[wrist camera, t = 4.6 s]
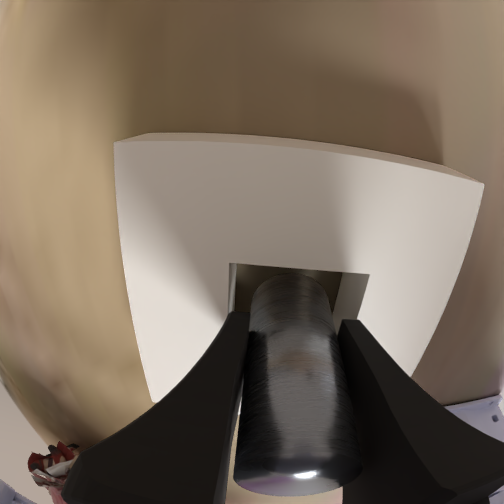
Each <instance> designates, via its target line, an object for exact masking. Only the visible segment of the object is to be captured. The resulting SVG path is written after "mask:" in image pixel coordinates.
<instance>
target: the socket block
mask: <svg viewBox="0 0 504 504" xmlns="http://www.w3.org/2000/svg"><path fill="white" fill-rule="evenodd" d="M114 170H115V188H116V202H117V214H118V224H119V234H120V243H121V251H122V258H123V266H124V273H125V279H126V286H127V292H128V297H129V303H130V309H131V314H132V319H133V324H134V329H135V334H136V339H137V343H138V348H139V352H140V356H141V361H142V365H143V369H144V373H145V377H146V381H147V384H148V388H149V392H150V395H151V399H152V402H155V403H157V402H159V401H160V400H161V399H162V398H163V397H164V396H165V395H167V394H168V393H169V392H170V391H171V390H172V389H173V388H174V387H175V386H176V385H177V384H178V383H179V382H180V381H181V380H182V379H183V378H184V377H185V376H186V374H187V373H188V372H189V371H190V370H191V369H192V367H193V366H194V365H195V364H196V363H197V361H198V360H199V359H200V358H201V357H202V355H203V354H204V353H205V351H206V350H207V348H208V347H209V346H210V344H211V343H212V341H213V340H214V338H215V337H216V335H217V334H218V332H219V331H220V329H221V327H222V326H223V324H224V322H225V320H226V318H227V315H228V314H229V313H230V312H231V311H234V310H235V288H236V268H237V263H239V264H250V265H262V266H274V267H286V268H298V269H310V270H323V271H335V272H343V274H342V278H341V283H340V287H339V291H338V295H337V299H336V303H335V307H334V311H333V314H332V317H333V321H334V325H335V330H336V334H337V335H338V331H339V328H340V325H341V321H342V319H355V320H360V321H361V322H362V323H363V325H364V326H365V327H366V328H367V329H368V330H369V332H370V333H371V334H372V335H373V336H374V338H375V339H376V340H377V341H378V342H379V343H380V345H381V346H382V347H383V348H384V349H385V350H386V352H387V353H388V354H389V355H390V356H391V357H392V358H393V360H394V361H395V362H396V363H397V364H398V365H399V366H400V367H401V368H402V369H403V370H404V371H405V372H406V373H407V374H408V375H409V376H410V377H411V376H412V374H413V372H414V370H415V368H416V367H417V365H418V363H419V361H420V359H421V357H422V355H423V353H424V352H425V350H426V348H427V346H428V344H429V342H430V340H431V338H432V335H433V333H434V331H435V329H436V327H437V325H438V323H439V321H440V318H441V316H442V314H443V312H444V309H445V307H446V305H447V302H448V300H449V297H450V295H451V292H452V290H453V287H454V285H455V282H456V280H457V277H458V274H459V272H460V269H461V266H462V263H463V260H464V257H465V254H466V251H467V248H468V245H469V242H470V239H471V236H472V232H473V229H474V225H475V222H476V218H477V215H478V211H479V207H480V203H481V199H482V195H483V190H484V186H485V184H483V183H481V182H479V181H477V180H475V179H473V178H471V177H469V176H466V175H464V174H462V173H460V172H458V171H455V170H453V169H451V168H449V167H446V166H444V165H440V164H436V163H432V162H428V161H423V160H419V159H415V158H410V157H405V156H401V155H396V154H391V153H386V152H380V151H375V150H369V149H364V148H358V147H351V146H345V145H338V144H331V143H324V142H316V141H308V140H299V139H290V138H280V137H268V136H256V135H240V134H220V133H147V134H143V135H139V136H135V137H131V138H127V139H123V140H120V141H116V142H114ZM241 399H242V398H241ZM240 408H241V402H240V407H239V412H238V415H240Z"/></svg>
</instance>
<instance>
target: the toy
mask: <svg viewBox="0 0 504 504" xmlns="http://www.w3.org/2000/svg"><path fill="white" fill-rule="evenodd" d="M78 447H79V446H78V445H76V444H71V445H69V446H66V445H64V444H63V443H62V442H60V441H59V442H58V445H57V448H56V447H55V446H54V445H49V447H48V449H49V451H50V452H51V453H50V454H48V455H46V456H43V455H41V454H36V453H32V454H31V456H30V457H29V460H28V468H29V471H30V472H31V473H32V474H33V475H34V476H32V477H33V479H34V481H35V482H36V484H37V485H38V486H42V487H45V488H47V490H49V494H50V495H51V496H52V499H53V502H54V504H67V503H66V502H65V501H64V500H63V499H62V497H61V491H62V489H63V486H64V484H65V481H66V479H67V476H68V474H69V471H70V469H71V467H72V466H73V464H74V462H75V461H76V459H77V457H78V456H75V455H74V453H73V452H72V451H73V450H75V449H76V448H78ZM37 474H39V475H44V476H46V478H47V479H46V478H43V477H41V476H39V475H37Z"/></svg>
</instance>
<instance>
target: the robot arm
mask: <svg viewBox="0 0 504 504" xmlns="http://www.w3.org/2000/svg"><path fill="white" fill-rule="evenodd" d="M250 314H251V313H245V312H234V311H231V312H230V313H229V314H228V315H227V318H226V320H225V322H224V324H223V326H222V327H221V329H220V331H219V332H218V334H217V335H216V337H215V338H214V340H213V341H212V343H211V344H210V346H209V347H208V348H207V350H206V351H205V353H204V354H203V355H202V357H201V358H200V359H199V360H198V361H197V363H196V364H195V365H194V366H193V367H192V369H191V370H190V371H189V372H188V373H187V374H186V376H185V377H184V378H183V379H182V380H181V381H180V382H179V383H178V384H177V385H176V386H175V387H174V388H173V389H172V390H171V391H170V392H169V393H168V394H167V395H165V396H164V397H163V398H162V399H161V400H160V401H159V402H157V403H156V404H155V405H154V406H153V407H152V408H150V409H149V410H148V411H147V412H145V413H144V414H143V415H141V416H140V417H139V418H137V419H136V420H134V421H133V422H131V423H130V424H128V425H127V426H126V427H124V428H123V429H121V430H120V431H118V432H117V433H115V434H113V435H112V436H110V437H108V438H106V439H104V440H103V441H101V442H99V443H97V444H95V445H93V446H91V447H90V448H88V449H86V450H84V451H82V452H81V453H80V454H79V456H78V457H77V459H76V461H75V462H74V464H73V466H72V467H71V469H70V471H69V474H68V476H67V479H66V481H65V484H64V486H63V489H62V491H61V497H62V499H63V500H64V501H65V502H66V503H67V504H225V499H226V490H227V481H228V472H229V463H230V454H231V446H232V440H233V435H234V430H235V426H236V421H237V416H238V412H239V407H240V402H241V398H242V389H243V380H244V370H245V362H246V356H247V348H248V338H249V327H250ZM337 338H338V342H339V347H340V351H341V356H342V360H343V365H344V369H345V374H346V379H347V384H348V388H349V393H350V398H351V403H352V409H353V414H354V419H355V424H356V430H357V436H358V441H359V447H360V453H361V459H362V466H363V470H362V473H361V474H360V475H359V476H358V477H357V478H356V479H355V480H353V481H352V482H350V483H348V484H346V485H344V486H343V502H342V504H504V416H503V414H502V412H501V410H500V408H499V406H498V404H499V403H500V402H501V400H502V396H501V395H497V396H493V397H489V398H485V399H481V400H476V401H472V402H467V403H462V404H457V405H451V406H446V407H443V406H442V405H441V404H439V403H438V402H437V401H436V400H435V399H433V398H432V397H431V396H430V395H429V394H428V393H426V392H425V391H424V390H423V389H422V388H421V387H420V386H419V385H418V384H416V383H415V382H414V381H413V380H412V379H411V378H410V376H409V375H408V374H407V373H406V372H405V371H404V370H403V369H402V368H401V367H400V366H399V365H398V364H397V363H396V362H395V361H394V360H393V358H392V357H391V356H390V355H389V354H388V353H387V352H386V350H385V349H384V348H383V347H382V346H381V345H380V343H379V342H378V341H377V340H376V339H375V338H374V336H373V335H372V334H371V333H370V332H369V330H368V329H367V328H366V327H365V326H364V325H363V323H362V322H361V321H360V320H355V319H342V321H341V325H340V328H339V331H338V335H337ZM0 504H36V503H34V502H33V501H31V500H29V499H27V498H26V497H24V496H22V495H21V494H19V493H17V492H15V490H14V489H13V488H12V487H10V486H9V485H8V484H6V483H5V482H4V481H2V480H1V479H0Z"/></svg>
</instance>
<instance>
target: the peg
mask: <svg viewBox="0 0 504 504" xmlns="http://www.w3.org/2000/svg"><path fill="white" fill-rule="evenodd" d="M250 313H251V314H250V327H249V338H248V348H247V356H246V362H245V370H244V380H243V389H242V399H241V408H240V418H239V427H238V437H237V446H236V456H235V465H234V474H233V478H234V481H235V482H236V483H237V484H238V485H239V486H241V487H243V488H245V489H247V490H249V491H252V492H256V493H260V494H265V495H272V496H305V495H313V494H319V493H323V492H327V491H331V490H334V489H337V488H340V487H342V486H344V485H346V484H348V483H350V482H352V481H353V480H355V479H356V478H357V477H358V476H359V475H360V474H361V473H362V470H363V466H362V459H361V453H360V447H359V441H358V436H357V430H356V424H355V419H354V414H353V409H352V403H351V398H350V393H349V388H348V384H347V379H346V374H345V369H344V365H343V360H342V356H341V351H340V347H339V342H338V338H337V334H336V330H335V325H334V321H333V317H332V313H331V309H330V305H329V301H328V297H327V294H326V292H325V290H324V288H323V287H322V286H321V285H320V284H319V283H318V282H317V281H316V280H314V279H313V278H311V277H308V276H306V275H302V274H296V273H287V274H281V275H277V276H274V277H272V278H270V279H268V280H266V281H265V282H263V283H262V284H261V285H260V286H259V287H258V288H257V290H256V291H255V293H254V295H253V297H252V301H251V311H250Z"/></svg>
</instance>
